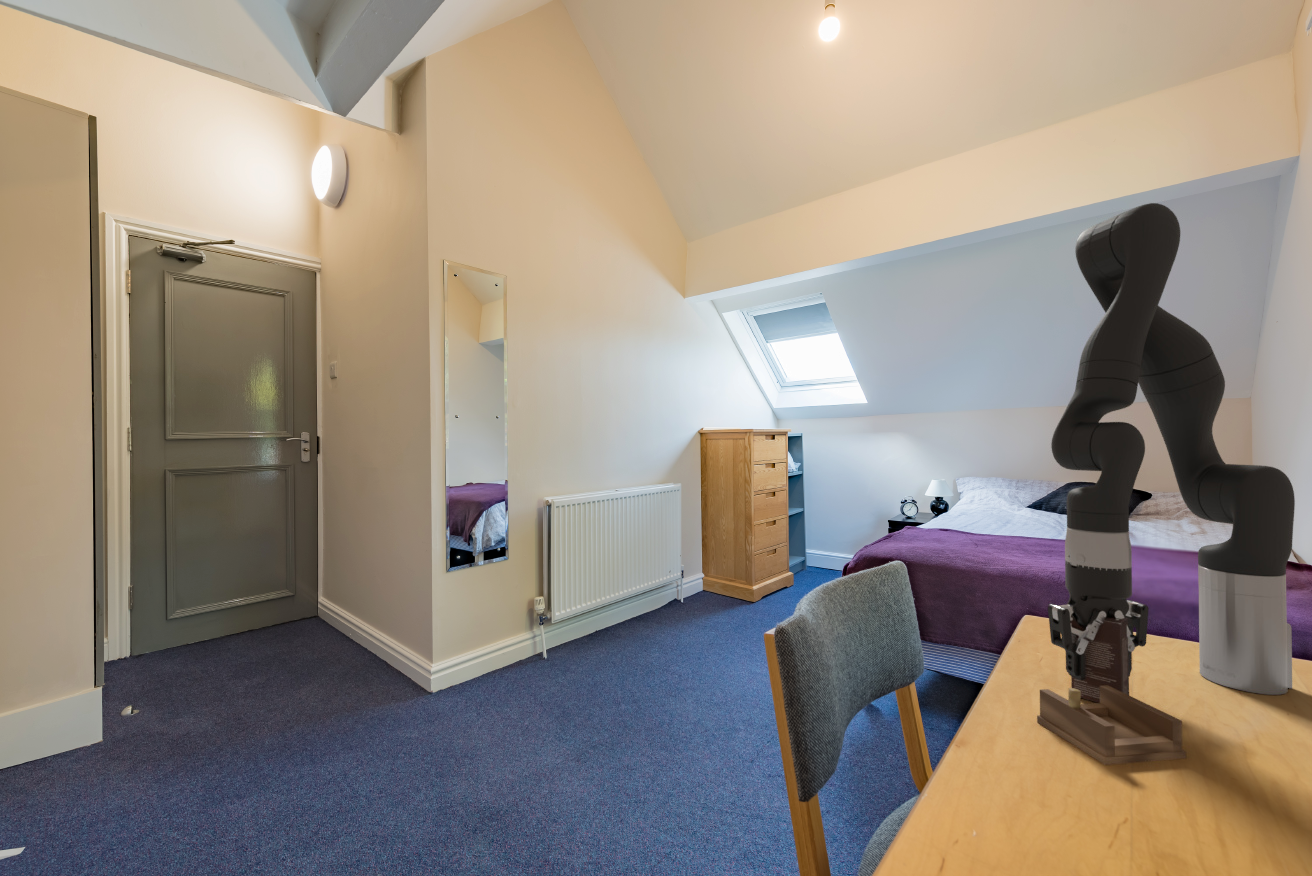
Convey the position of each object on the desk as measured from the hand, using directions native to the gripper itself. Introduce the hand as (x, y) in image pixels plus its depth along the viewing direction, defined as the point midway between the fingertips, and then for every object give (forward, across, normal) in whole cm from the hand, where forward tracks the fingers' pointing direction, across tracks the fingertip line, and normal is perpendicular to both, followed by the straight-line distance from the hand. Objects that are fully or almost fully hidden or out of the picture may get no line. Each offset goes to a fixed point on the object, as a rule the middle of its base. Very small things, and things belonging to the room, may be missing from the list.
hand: (1098, 675), depth 80 cm
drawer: (+3, +9, +10) cm, 14 cm away
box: (+3, 0, 0) cm, 3 cm away
